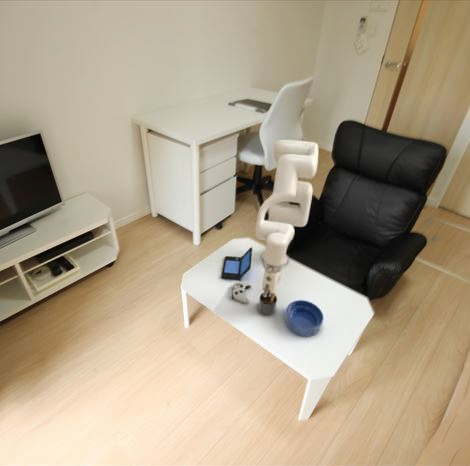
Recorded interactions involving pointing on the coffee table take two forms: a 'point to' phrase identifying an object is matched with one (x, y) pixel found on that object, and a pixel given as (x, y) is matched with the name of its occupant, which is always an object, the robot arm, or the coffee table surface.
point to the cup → (267, 306)
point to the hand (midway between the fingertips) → (268, 296)
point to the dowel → (271, 298)
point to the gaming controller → (240, 292)
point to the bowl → (303, 318)
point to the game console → (236, 266)
